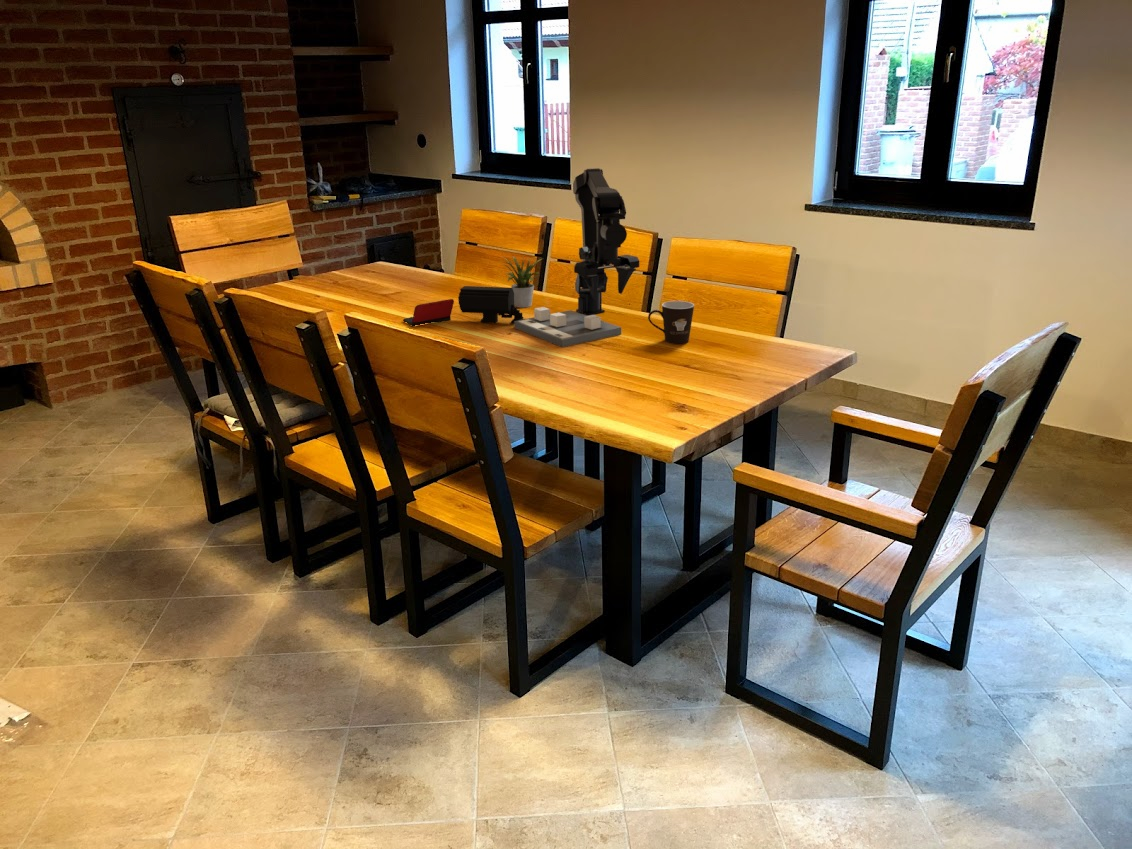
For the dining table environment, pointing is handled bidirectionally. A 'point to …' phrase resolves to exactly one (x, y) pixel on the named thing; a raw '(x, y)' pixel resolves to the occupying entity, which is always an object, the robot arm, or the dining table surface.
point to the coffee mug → (676, 321)
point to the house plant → (522, 283)
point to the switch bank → (567, 330)
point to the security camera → (489, 303)
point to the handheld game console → (431, 312)
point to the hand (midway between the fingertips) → (607, 295)
